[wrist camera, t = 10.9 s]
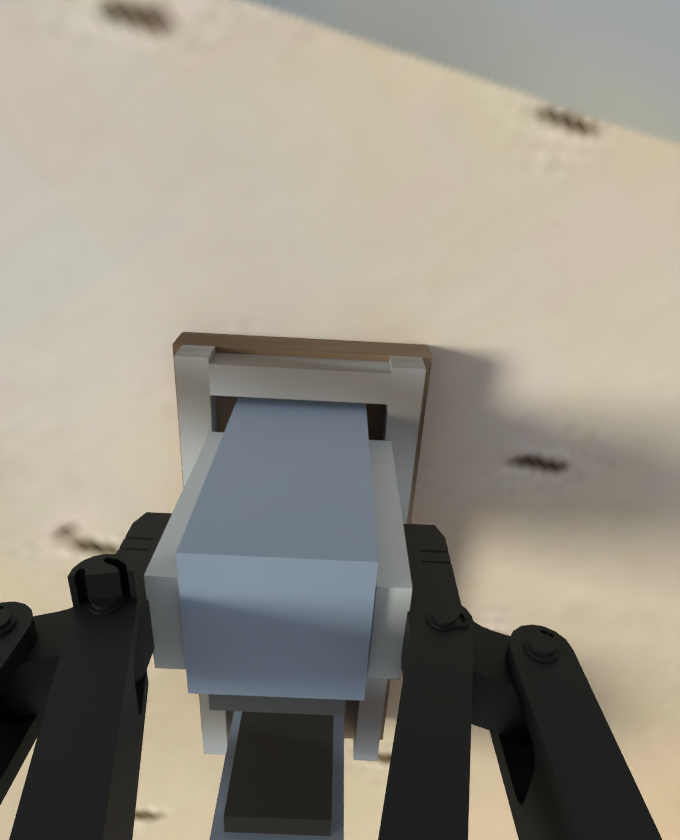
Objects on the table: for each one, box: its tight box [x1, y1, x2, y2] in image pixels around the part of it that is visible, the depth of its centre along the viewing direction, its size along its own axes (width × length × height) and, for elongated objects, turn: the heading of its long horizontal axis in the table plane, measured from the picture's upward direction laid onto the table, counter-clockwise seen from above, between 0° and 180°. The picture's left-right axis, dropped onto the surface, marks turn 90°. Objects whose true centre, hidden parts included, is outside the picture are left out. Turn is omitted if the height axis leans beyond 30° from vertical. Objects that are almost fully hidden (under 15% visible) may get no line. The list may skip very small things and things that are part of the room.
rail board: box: [173, 332, 432, 840], centre depth 19 cm, size 18×8×9 cm, turn 177°
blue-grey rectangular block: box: [176, 397, 378, 716], centre depth 16 cm, size 4×5×8 cm
